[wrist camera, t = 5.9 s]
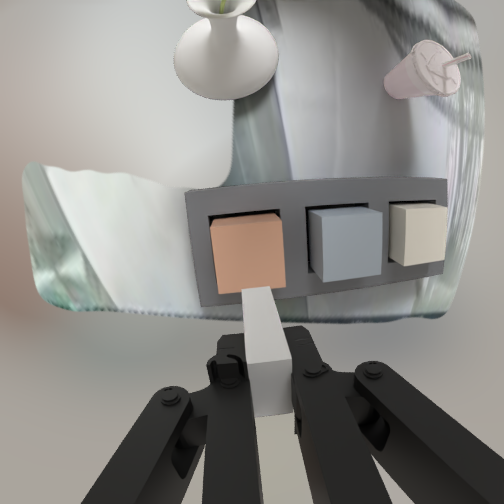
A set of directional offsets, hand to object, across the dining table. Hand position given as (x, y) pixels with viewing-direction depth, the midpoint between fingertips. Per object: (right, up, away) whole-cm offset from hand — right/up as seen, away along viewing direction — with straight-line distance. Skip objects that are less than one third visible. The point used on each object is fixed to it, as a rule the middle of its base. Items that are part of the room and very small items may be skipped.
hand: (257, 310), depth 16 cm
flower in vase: (-2, +25, +12) cm, 28 cm away
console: (+8, +6, +17) cm, 20 cm away
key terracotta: (-1, +4, +14) cm, 15 cm away
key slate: (+9, +5, +15) cm, 18 cm away
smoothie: (+18, +24, +13) cm, 33 cm away
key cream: (+18, +6, +16) cm, 25 cm away
